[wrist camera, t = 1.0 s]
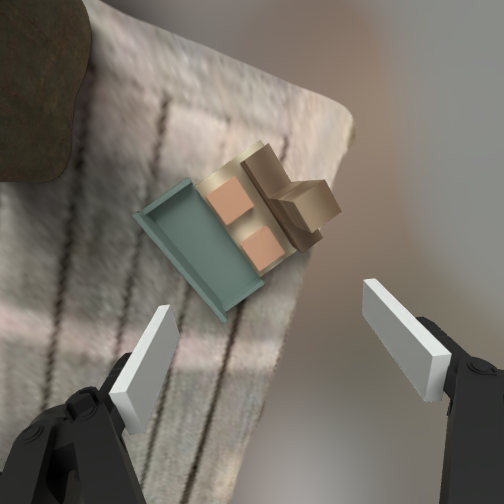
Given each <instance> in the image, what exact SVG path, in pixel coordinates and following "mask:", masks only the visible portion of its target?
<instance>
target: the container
mask: <svg viewBox="0 0 504 504" xmlns="http://www.w3.org/2000/svg"><path fill="white" fill-rule="evenodd" d="M90 49H91V27H90V21H89V16H88V13H87V10H86V8H85V6H84V3H83V1H82V0H0V182H26V183H47V182H50V181H52V180H54V179H55V178H57V177H59V175H60V174H61V173H62V172H63V170H64V169H65V168H66V166H67V163H68V160H69V155H70V151H71V146H72V120H73V111H74V102H75V96H76V94H77V92H78V89H79V87H80V85H81V83H82V80H83V78H84V76H85V73H86V68H87V64H88V59H89V54H90Z"/></svg>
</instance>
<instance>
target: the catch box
mask: <svg viewBox="0 0 504 504" xmlns="http://www.w3.org/2000/svg"><path fill="white" fill-rule="evenodd" d="M132 217H133V218H134V219H135V220H136V221H137V223H138V224H139V225H140V226H141V227H142V228H143V230H144V231H145V232H146V233H147V234H148V235H149V237H150V238H151V239H152V240H153V241H154V242H155V244H156V245H157V246H158V247H159V248H160V250H161V251H162V252H163V253H164V254H165V255H166V257H167V258H168V259H169V260H170V261H171V262H172V264H173V265H174V266H175V267H176V268H177V269H178V271H179V272H180V273H181V274H182V275H183V276H184V278H185V279H186V280H187V281H188V282H189V284H190V285H191V286H192V287H193V288H194V289H195V291H196V292H197V293H198V294H199V295H200V296H201V298H202V299H203V300H204V301H205V302H206V303H207V305H208V306H209V307H210V308H211V309H212V310H213V312H214V313H215V314H216V315H217V316H218V317H219V319H220V320H221V321H222V322H223V323H225V322H227V321H228V319H227V314H226V311H228V310H229V309H231V308H232V307H233V306H235V305H236V304H237V303H239V302H240V301H242V300H243V299H244V298H246V297H247V296H249V295H250V294H251V293H253V292H254V291H255V290H257V289H258V288H260V287H261V286H262V285H264V284H265V283H264V282H263V280H262V279H261V278H260V276H259V275H258V274H257V272H256V271H255V270H254V268H253V267H252V265H251V264H250V263H249V261H248V260H247V258H246V257H245V256H244V254H243V253H242V252H241V250H240V249H239V247H238V246H237V245H236V243H235V242H234V240H233V239H232V238H231V236H230V235H229V234H228V232H227V231H226V229H225V228H224V227H223V225H222V224H221V222H220V221H219V220H218V218H217V217H216V216H215V214H214V213H213V211H212V210H211V209H210V207H209V206H208V204H207V203H206V202H205V200H204V199H203V198H202V196H201V195H200V193H199V192H198V191H197V189H196V188H195V186H194V185H193V183H192V182H191V181H190V179H189V178H187V179H185V180H184V181H182V182H181V183H180V184H178V185H177V186H175V187H174V188H172V189H171V190H170V191H168V192H167V193H165V194H164V195H162V196H161V197H160V198H158V199H157V200H155V201H154V202H153V203H151V204H150V205H148V206H147V207H145V208H144V209H143V210H141V211H138V212H136V213H135V214H133V215H132Z"/></svg>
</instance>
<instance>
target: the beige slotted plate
mask: <svg viewBox="0 0 504 504" xmlns="http://www.w3.org/2000/svg"><path fill="white" fill-rule="evenodd" d="M262 147H264V144H263V143H262V141H261V140H260V141H258V142H257V143H255V144H254V145H252V146H251V147H250V148H248V149H247V150H245V151H244V152H243V153H241V154H240V155H238V156H237V157H235V158H234V159H233V160H231V161H230V162H228V163H227V164H226V165H224V166H223V167H221V168H220V169H218V170H217V171H216V172H214V173H213V174H211V175H210V176H208V177H207V178H206V179H204V180H203V181H201V182H200V183H199V184H197V185H196V186H195V188H196V189H197V191H198V192H199V193H200V195H201V196H202V198H203V199H204V200H205V202H206V203H207V204H208V206H209V207H210V209H211V210H212V211H213V213H214V214H215V216H216V217H217V218H218V220H219V221H220V222H221V224H222V225H223V227H224V228H225V229H226V231H227V232H228V234H229V235H230V236H231V238H232V239H233V240H234V242H235V243H236V245H237V246H238V247H239V249H240V250H241V252H242V253H243V254H244V256H245V257H246V258H247V260H248V261H249V263H250V264H251V265H252V267H253V268H254V270H255V271H256V272H257V274H258V275H259V276H260V277H261V276H263V275H264V274H265V273H267V272H268V271H270V270H271V269H272V268H274V267H275V266H277V265H278V264H279V263H281V262H282V261H283V260H285V259H286V258H288V257H289V256H290V255H292V254H293V253H295V252H296V251H297V249H295V248H294V247H293V246H292V245H291V243H290V242H289V240H288V239H287V237H286V235H285V234H284V232H283V231H282V229H281V227H280V226H279V224H278V223H277V221H276V220H275V218H274V216H273V215H272V213H271V212H270V210H269V209H268V207H267V205H266V204H265V202H264V201H263V199H262V197H261V196H260V194H259V193H258V191H257V190H256V188H255V186H254V185H253V183H252V182H251V180H250V178H249V177H248V175H247V174H246V172H245V171H244V169H243V167H242V166H241V164H240V163H241V162H242V161H244V160H245V159H246V158H248V157H249V156H251V155H252V154H253V153H255V152H256V151H258V150H259V149H261V148H262ZM233 176H235V177H236V178H237V180H238V181H239V183H240V184H241V186H242V188H243V189H244V191H245V192H246V194H247V195H248V197H249V198H250V200H251V201H252V203H253V204H254V206H253V207H252V208H250V209H249V210H247V211H246V212H245V213H243V214H242V215H240V216H239V217H238V218H236V219H235V220H233V221H232V222H231V223H229V224H228V225H226V224H225V223H224V221H223V220H222V218H221V217H220V216H219V214H218V213H217V211H216V210H215V209H214V207H213V206H212V204H211V203H210V202H209V200H208V199H207V197H206V195H208V194H209V193H210V192H212V191H213V190H215V189H216V188H217V187H219V186H220V185H222V184H223V183H225V182H226V181H227V180H229V179H230V178H232V177H233ZM264 225H265V226H267V227H268V228H269V229H270V230H271V232H272V234H273V235H274V237H275V238H276V240H277V241H278V243H279V244H280V246H281V247H282V249H283V250H284V252H285V254H283V255H282V256H280V257H279V258H278V259H276V260H275V261H273V262H272V263H271V264H269V265H268V266H266V267H265V268H264V269H262V270H261V271H259V270H258V269H257V267H256V266H255V264H254V263H253V262H252V260H251V259H250V257H249V256H248V255H247V253H246V252H245V250H244V249H243V248H242V246H241V245H240V242H242V241H243V240H245V239H246V238H247V237H249V236H250V235H252V234H253V233H254V232H256V231H257V230H259V229H260V228H261V227H263V226H264Z"/></svg>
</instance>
